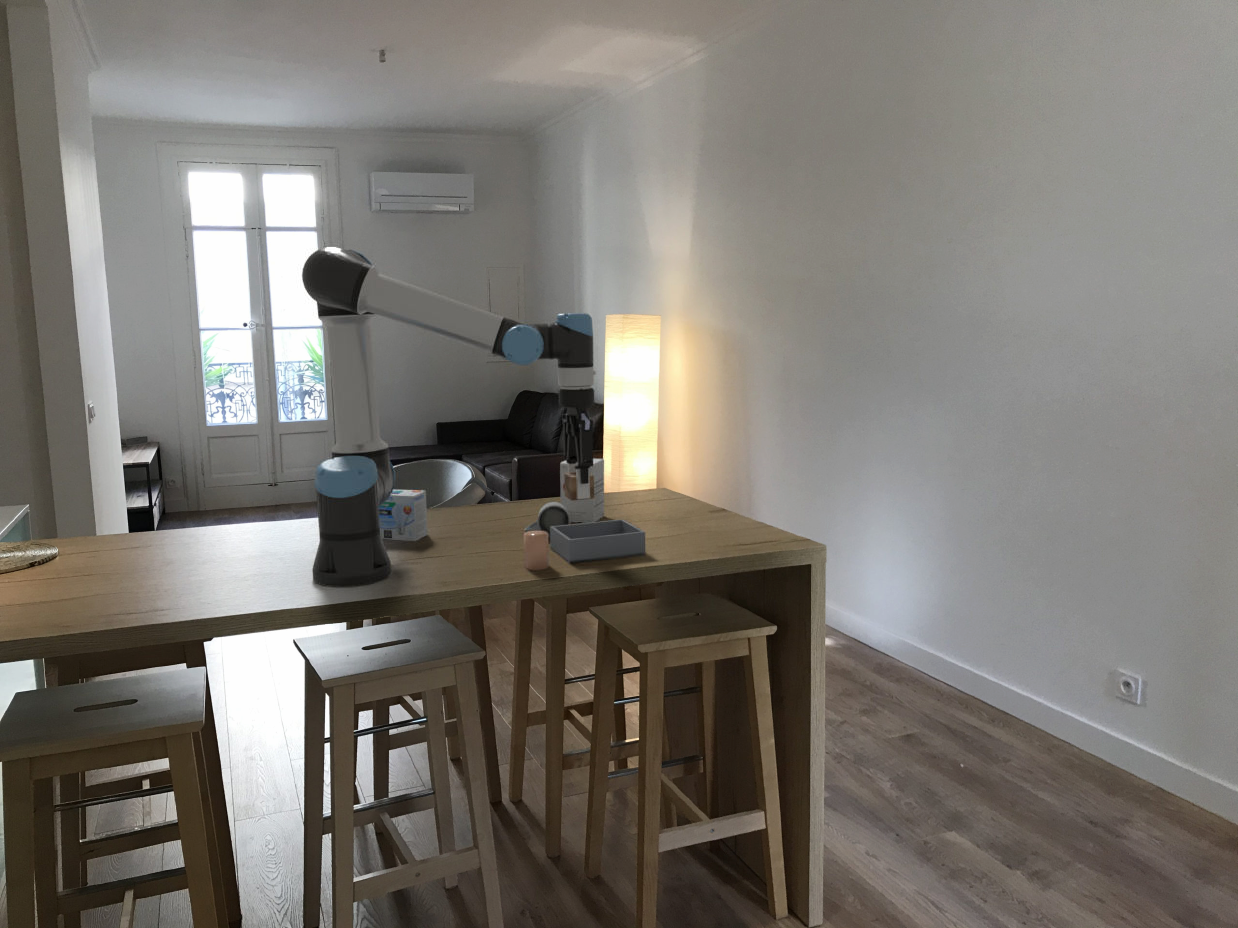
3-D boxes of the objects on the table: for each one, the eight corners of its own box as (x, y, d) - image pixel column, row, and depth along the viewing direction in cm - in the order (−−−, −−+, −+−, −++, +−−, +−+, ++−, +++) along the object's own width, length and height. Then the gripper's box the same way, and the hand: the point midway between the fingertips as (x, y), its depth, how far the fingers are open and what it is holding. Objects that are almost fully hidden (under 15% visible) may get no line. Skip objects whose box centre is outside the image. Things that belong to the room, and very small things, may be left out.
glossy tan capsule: (528, 571, 189) (527, 537, 188) (521, 564, 194) (520, 532, 192) (552, 568, 191) (551, 535, 190) (544, 562, 195) (544, 529, 194)
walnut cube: (594, 498, 198) (593, 475, 197) (572, 500, 197) (571, 477, 196) (586, 493, 203) (586, 471, 202) (564, 496, 201) (564, 473, 200)
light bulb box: (373, 539, 216) (371, 493, 215) (387, 532, 223) (385, 488, 221) (416, 541, 214) (413, 495, 212) (428, 534, 220) (426, 489, 218)
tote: (569, 563, 194) (568, 540, 193) (550, 548, 206) (550, 526, 205) (645, 554, 200) (645, 532, 199) (622, 540, 212) (622, 519, 212)
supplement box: (559, 522, 232) (558, 462, 229) (571, 514, 240) (570, 456, 237) (594, 524, 229) (593, 464, 226) (605, 516, 237) (604, 458, 235)
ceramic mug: (569, 529, 224) (567, 497, 223) (570, 537, 216) (569, 504, 215) (524, 531, 223) (523, 500, 222) (525, 539, 215) (523, 507, 214)
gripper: (608, 389, 189) (610, 502, 193) (579, 383, 205) (581, 486, 209) (573, 391, 186) (576, 505, 190) (546, 385, 203) (549, 489, 207)
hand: (579, 495), depth 200 cm, fingers closed on walnut cube, 5 cm apart
